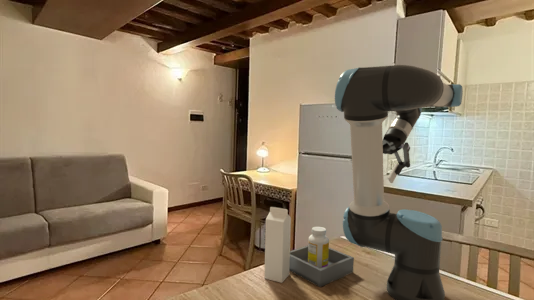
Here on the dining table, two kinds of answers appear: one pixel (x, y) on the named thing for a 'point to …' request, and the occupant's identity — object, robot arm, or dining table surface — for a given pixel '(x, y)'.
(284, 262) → the milk
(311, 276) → the open box
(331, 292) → the dining table surface
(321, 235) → the supplement bottle
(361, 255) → the dining table surface
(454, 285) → the dining table surface
